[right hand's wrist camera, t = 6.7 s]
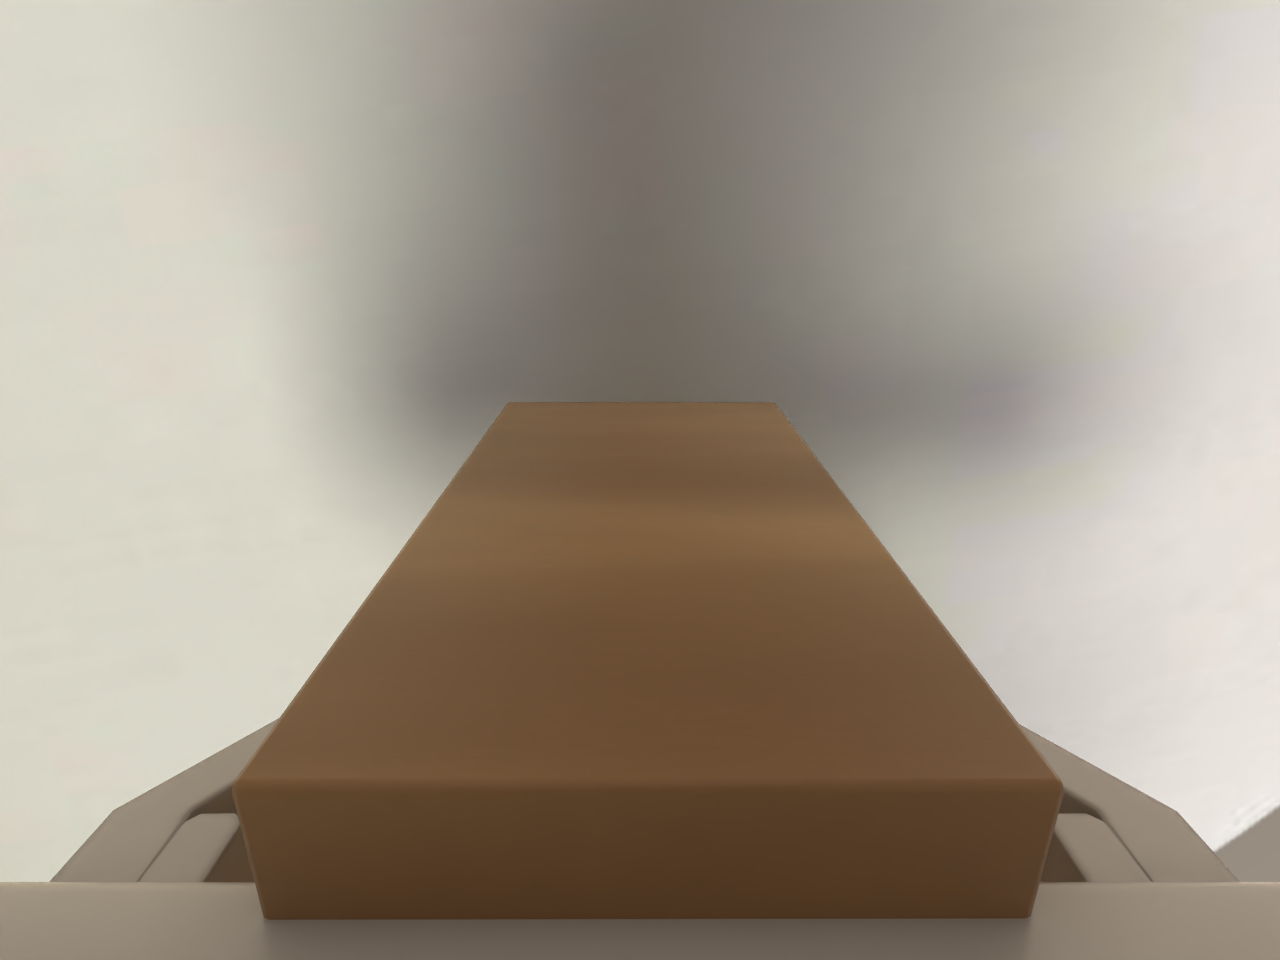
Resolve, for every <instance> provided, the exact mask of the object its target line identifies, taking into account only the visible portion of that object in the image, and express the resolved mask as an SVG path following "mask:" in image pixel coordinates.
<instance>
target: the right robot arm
mask: <svg viewBox="0 0 1280 960" xmlns="http://www.w3.org/2000/svg"><path fill="white" fill-rule="evenodd" d="M278 720H279V719H277V720H275V721H273V722H272V723H270V724H268V725H266V726H264V727H263V728H261V729H259V730H257V731H255V732H254V733H252V734H250V735H248V736H246V737H245V738H243V739H241V740H239V741H237V742H236V743H234V744H232V745H230V746H228V747H227V748H225V749H223V750H221V751H219V752H218V753H216V754H214V755H212V756H210V757H209V758H207V759H205V760H203V761H201V762H200V763H198V764H196V765H194V766H192V767H191V768H189V769H187V770H185V771H183V772H182V773H180V774H178V775H176V776H174V777H173V778H171V779H169V780H167V781H165V782H164V783H162V784H160V785H158V786H157V787H155V788H153V789H151V790H149V791H148V792H146V793H144V794H142V795H140V796H139V797H137V798H135V799H133V800H131V801H130V802H128V803H126V804H124V805H122V806H121V807H119V808H117V809H115V810H113V811H112V813H111V814H110V815H109V816H108V817H107V818H106V819H105V820H104V822H103V823H102V824H101V825H100V826H99V827H98V828H97V829H96V830H95V832H94V833H93V834H92V835H91V836H90V837H89V838H88V839H87V841H86V842H85V843H84V844H83V845H82V846H81V847H80V848H79V850H78V851H77V852H76V853H75V854H74V855H73V856H72V857H71V858H70V860H69V861H68V862H67V863H66V864H65V865H64V866H63V867H62V869H61V870H60V871H59V872H58V873H57V874H56V875H55V876H54V878H53V879H52V880H51V881H50V882H0V960H1280V882H1240V881H1239V880H1238V879H1237V878H1236V876H1235V875H1234V874H1233V873H1232V872H1231V871H1230V870H1229V869H1228V868H1227V866H1226V865H1225V864H1224V863H1223V862H1222V861H1221V860H1220V859H1219V858H1218V856H1217V855H1216V854H1215V853H1214V852H1213V851H1212V850H1211V849H1210V848H1209V846H1208V845H1207V844H1206V843H1205V842H1204V841H1203V840H1202V839H1201V838H1200V837H1199V835H1198V834H1197V833H1196V832H1195V831H1194V830H1193V829H1192V828H1191V827H1190V825H1189V824H1188V823H1187V822H1186V821H1185V820H1184V819H1183V818H1182V817H1181V815H1180V814H1179V813H1178V812H1177V811H1175V810H1173V809H1171V808H1170V807H1168V806H1166V805H1164V804H1162V803H1161V802H1159V801H1157V800H1155V799H1153V798H1152V797H1150V796H1148V795H1146V794H1144V793H1142V792H1141V791H1139V790H1137V789H1135V788H1133V787H1132V786H1130V785H1128V784H1126V783H1124V782H1123V781H1121V780H1119V779H1117V778H1115V777H1114V776H1112V775H1110V774H1108V773H1106V772H1104V771H1103V770H1101V769H1099V768H1097V767H1095V766H1094V765H1092V764H1090V763H1088V762H1086V761H1085V760H1083V759H1081V758H1079V757H1077V756H1076V755H1074V754H1072V753H1070V752H1068V751H1066V750H1065V749H1063V748H1061V747H1059V746H1057V745H1056V744H1054V743H1052V742H1050V741H1048V740H1047V739H1045V738H1043V737H1041V736H1039V735H1038V734H1036V733H1034V732H1032V731H1030V730H1028V729H1027V728H1025V727H1023V726H1021V725H1020V726H1021V728H1022V729H1023V730H1024V732H1025V733H1026V734H1027V736H1028V737H1029V738H1030V740H1031V741H1032V742H1033V744H1034V745H1035V746H1036V747H1037V749H1038V750H1039V751H1040V753H1041V754H1042V755H1043V757H1044V758H1045V759H1046V761H1047V762H1048V763H1049V765H1050V766H1051V767H1052V769H1053V770H1054V771H1055V773H1056V774H1057V775H1058V776H1059V778H1060V779H1061V781H1062V784H1063V788H1064V794H1063V798H1062V802H1061V806H1060V809H1059V813H1058V817H1057V820H1056V824H1055V828H1054V832H1053V835H1052V839H1051V843H1050V846H1049V850H1048V854H1047V858H1046V861H1045V865H1044V869H1043V873H1042V876H1041V880H1040V884H1039V887H1038V891H1037V895H1036V899H1035V902H1034V906H1033V910H1032V913H1031V916H1030V917H1027V918H998V919H444V920H269V919H266V918H264V917H263V913H262V909H261V905H260V901H259V897H258V894H257V890H256V886H255V882H254V878H253V874H252V870H251V866H250V862H249V858H248V854H247V850H246V846H245V842H244V839H243V835H242V831H241V827H240V823H239V819H238V815H237V811H236V807H235V803H234V799H233V795H232V788H233V784H234V781H235V779H236V778H237V776H238V775H239V773H240V772H241V771H242V769H243V768H244V767H245V765H246V764H247V762H248V761H249V760H250V758H251V757H252V756H253V754H254V753H255V751H256V750H257V749H258V747H259V746H260V744H261V743H262V742H263V740H264V739H265V738H266V736H267V735H268V733H269V732H270V731H271V729H272V728H273V727H274V725H275V724H276V722H277V721H278Z"/></svg>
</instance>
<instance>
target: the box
mask: <svg viewBox="0 0 1280 960" xmlns="http://www.w3.org/2000/svg"><path fill="white" fill-rule="evenodd" d="M1063 794H1064V788H1063V784H1062V781H1061V779H1060V778H1059V776H1058V775H1057V774H1056V773H1055V771H1054V770H1053V769H1052V767H1051V766H1050V765H1049V763H1048V762H1047V761H1046V759H1045V758H1044V757H1043V755H1042V754H1041V753H1040V751H1039V750H1038V749H1037V747H1036V746H1035V745H1034V744H1033V742H1032V741H1031V740H1030V738H1029V737H1028V736H1027V734H1026V733H1025V732H1024V730H1023V729H1022V728H1021V726H1020V725H1019V724H1018V722H1017V721H1016V720H1015V719H1014V717H1013V716H1012V715H1011V713H1010V712H1009V711H1008V709H1007V708H1006V707H1005V705H1004V704H1003V703H1002V701H1001V700H1000V699H999V697H998V696H997V695H996V693H995V692H994V691H993V690H992V688H991V687H990V686H989V684H988V683H987V682H986V680H985V679H984V678H983V676H982V675H981V674H980V672H979V671H978V670H977V668H976V667H975V666H974V664H973V663H972V662H971V661H970V659H969V658H968V657H967V655H966V654H965V653H964V651H963V650H962V649H961V647H960V646H959V645H958V643H957V642H956V641H955V639H954V638H953V637H952V636H951V634H950V633H949V632H948V630H947V629H946V628H945V626H944V625H943V624H942V622H941V621H940V620H939V618H938V617H937V616H936V614H935V613H934V612H933V610H932V609H931V608H930V607H929V605H928V604H927V603H926V601H925V600H924V599H923V597H922V596H921V595H920V593H919V592H918V591H917V589H916V588H915V587H914V585H913V584H912V583H911V581H910V580H909V579H908V578H907V576H906V575H905V574H904V572H903V571H902V570H901V568H900V567H899V566H898V564H897V563H896V562H895V560H894V559H893V558H892V556H891V555H890V554H889V553H888V551H887V550H886V549H885V547H884V546H883V545H882V543H881V542H880V541H879V539H878V538H877V537H876V535H875V534H874V533H873V531H872V530H871V529H870V527H869V526H868V525H867V524H866V522H865V521H864V520H863V518H862V517H861V516H860V514H859V513H858V512H857V510H856V509H855V508H854V506H853V505H852V504H851V502H850V501H849V500H848V499H847V497H846V496H845V495H844V493H843V492H842V491H841V489H840V488H839V487H838V485H837V484H836V483H835V481H834V480H833V479H832V477H831V476H830V475H829V473H828V472H827V471H826V470H825V468H824V467H823V466H822V464H821V463H820V462H819V460H818V459H817V458H816V456H815V455H814V454H813V452H812V451H811V450H810V448H809V447H808V446H807V444H806V443H805V442H804V441H803V439H802V438H801V437H800V435H799V434H798V433H797V431H796V430H795V429H794V427H793V426H792V425H791V423H790V422H789V421H788V419H787V418H786V417H785V416H784V414H783V413H782V412H781V410H780V409H779V408H778V406H777V405H776V404H775V403H773V402H509V403H507V405H506V406H505V408H504V409H503V410H502V412H501V413H500V415H499V416H498V417H497V419H496V420H495V421H494V423H493V424H492V426H491V427H490V428H489V430H488V431H487V432H486V434H485V435H484V437H483V438H482V439H481V441H480V442H479V444H478V445H477V446H476V448H475V449H474V450H473V452H472V453H471V455H470V456H469V457H468V459H467V460H466V461H465V463H464V464H463V466H462V467H461V468H460V470H459V471H458V473H457V474H456V475H455V477H454V478H453V479H452V481H451V482H450V484H449V485H448V486H447V488H446V489H445V490H444V492H443V493H442V495H441V496H440V497H439V499H438V500H437V501H436V503H435V504H434V506H433V507H432V508H431V510H430V511H429V513H428V514H427V515H426V517H425V518H424V519H423V521H422V522H421V524H420V525H419V526H418V528H417V529H416V530H415V532H414V533H413V535H412V536H411V537H410V539H409V540H408V542H407V543H406V544H405V546H404V547H403V548H402V550H401V551H400V553H399V554H398V555H397V557H396V558H395V559H394V561H393V562H392V564H391V565H390V566H389V568H388V569H387V571H386V572H385V573H384V575H383V576H382V577H381V579H380V580H379V582H378V583H377V584H376V586H375V587H374V588H373V590H372V591H371V593H370V594H369V595H368V597H367V598H366V600H365V601H364V602H363V604H362V605H361V606H360V608H359V609H358V611H357V612H356V613H355V615H354V616H353V617H352V619H351V620H350V622H349V623H348V624H347V626H346V627H345V629H344V630H343V631H342V633H341V634H340V635H339V637H338V638H337V640H336V641H335V642H334V644H333V645H332V646H331V648H330V649H329V651H328V652H327V653H326V655H325V656H324V658H323V659H322V660H321V662H320V663H319V664H318V666H317V667H316V669H315V670H314V671H313V673H312V674H311V675H310V677H309V678H308V680H307V681H306V682H305V684H304V685H303V687H302V688H301V689H300V691H299V692H298V693H297V695H296V696H295V698H294V699H293V700H292V702H291V703H290V704H289V706H288V707H287V709H286V710H285V711H284V713H283V714H282V716H281V717H280V718H279V720H278V721H277V722H276V724H275V725H274V727H273V728H272V729H271V731H270V732H269V733H268V735H267V736H266V738H265V739H264V740H263V742H262V743H261V744H260V746H259V747H258V749H257V750H256V751H255V753H254V754H253V756H252V757H251V758H250V760H249V761H248V762H247V764H246V765H245V767H244V768H243V769H242V771H241V772H240V773H239V775H238V776H237V778H236V779H235V781H234V784H233V788H232V795H233V799H234V803H235V807H236V811H237V815H238V819H239V823H240V827H241V831H242V835H243V839H244V842H245V846H246V850H247V854H248V858H249V862H250V866H251V870H252V874H253V878H254V882H255V886H256V890H257V894H258V897H259V901H260V905H261V909H262V913H263V917H264V918H266V919H269V920H444V919H998V918H1027V917H1030V916H1031V913H1032V910H1033V906H1034V902H1035V899H1036V895H1037V891H1038V887H1039V884H1040V880H1041V876H1042V873H1043V869H1044V865H1045V861H1046V858H1047V854H1048V850H1049V846H1050V843H1051V839H1052V835H1053V832H1054V828H1055V824H1056V820H1057V817H1058V813H1059V809H1060V806H1061V802H1062V798H1063Z"/></svg>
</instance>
